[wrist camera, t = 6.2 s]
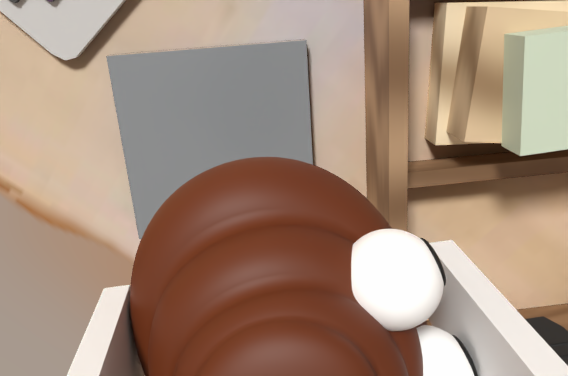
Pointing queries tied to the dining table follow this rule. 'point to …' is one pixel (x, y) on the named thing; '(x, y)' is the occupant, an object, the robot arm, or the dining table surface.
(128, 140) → the mat
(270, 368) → the poop emoji
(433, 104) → the tan flat rectangular block
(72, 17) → the handheld gaming console
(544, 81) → the offcut top
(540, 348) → the robot arm
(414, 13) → the dining table surface
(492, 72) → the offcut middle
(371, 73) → the tray
